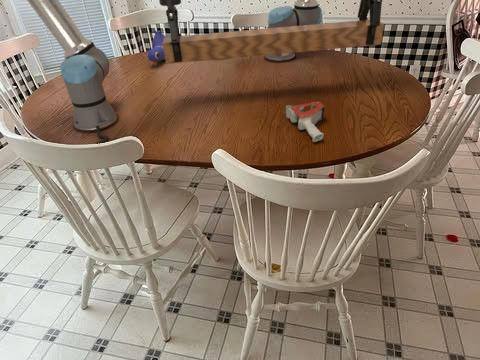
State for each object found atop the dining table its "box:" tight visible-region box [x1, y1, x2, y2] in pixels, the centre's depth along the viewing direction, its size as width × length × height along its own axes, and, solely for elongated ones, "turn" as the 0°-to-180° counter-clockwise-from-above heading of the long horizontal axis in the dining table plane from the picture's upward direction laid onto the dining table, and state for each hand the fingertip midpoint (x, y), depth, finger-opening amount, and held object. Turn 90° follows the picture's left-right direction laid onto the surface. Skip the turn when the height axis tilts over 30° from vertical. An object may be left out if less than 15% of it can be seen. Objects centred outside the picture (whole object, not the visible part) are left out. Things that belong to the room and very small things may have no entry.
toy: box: [146, 29, 169, 67], centre depth 185 cm, size 10×17×25 cm
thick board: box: [162, 19, 385, 65], centre depth 136 cm, size 82×8×8 cm, turn 95°
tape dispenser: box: [285, 100, 325, 143], centre depth 121 cm, size 18×5×20 cm
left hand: (178, 57), depth 136 cm, fingers closed on thick board, 8 cm apart
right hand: (365, 41), depth 139 cm, fingers closed on thick board, 8 cm apart
